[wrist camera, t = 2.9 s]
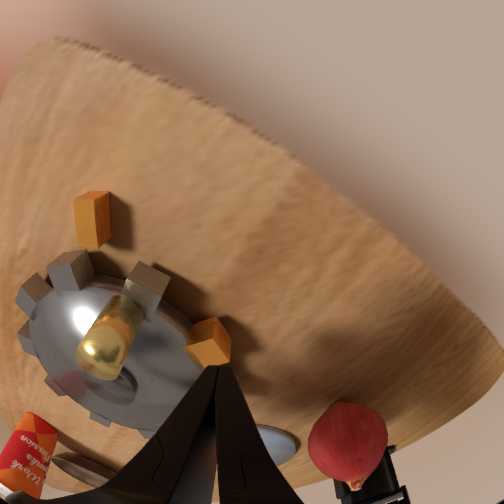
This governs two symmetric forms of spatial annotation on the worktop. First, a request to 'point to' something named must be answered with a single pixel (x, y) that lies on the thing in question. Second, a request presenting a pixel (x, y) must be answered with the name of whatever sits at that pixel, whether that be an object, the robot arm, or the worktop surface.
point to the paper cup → (27, 456)
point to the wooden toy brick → (92, 219)
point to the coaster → (277, 443)
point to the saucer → (83, 469)
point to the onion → (348, 442)
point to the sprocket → (116, 341)
